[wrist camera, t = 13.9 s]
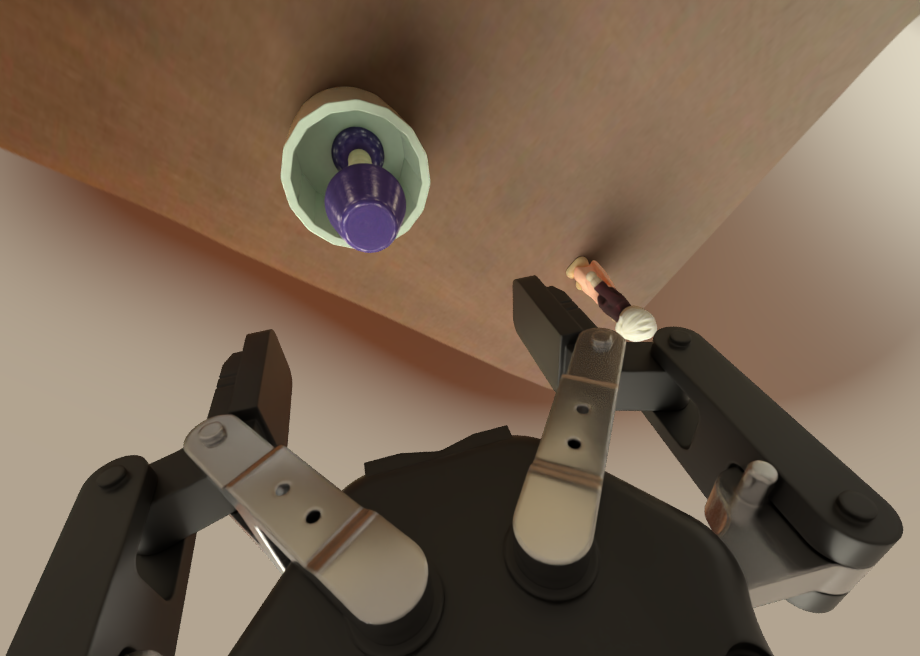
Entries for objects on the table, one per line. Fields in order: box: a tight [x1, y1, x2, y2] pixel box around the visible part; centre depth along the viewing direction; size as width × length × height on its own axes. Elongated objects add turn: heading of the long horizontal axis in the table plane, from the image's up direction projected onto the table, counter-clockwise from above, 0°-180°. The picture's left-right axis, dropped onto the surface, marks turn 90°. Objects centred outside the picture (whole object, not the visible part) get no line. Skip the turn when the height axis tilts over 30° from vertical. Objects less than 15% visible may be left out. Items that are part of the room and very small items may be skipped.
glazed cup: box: [281, 86, 430, 248], centre depth 33 cm, size 10×10×9 cm
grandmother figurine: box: [566, 257, 657, 342], centre depth 44 cm, size 8×4×13 cm, turn 49°
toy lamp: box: [324, 127, 406, 253], centre depth 29 cm, size 5×5×17 cm
